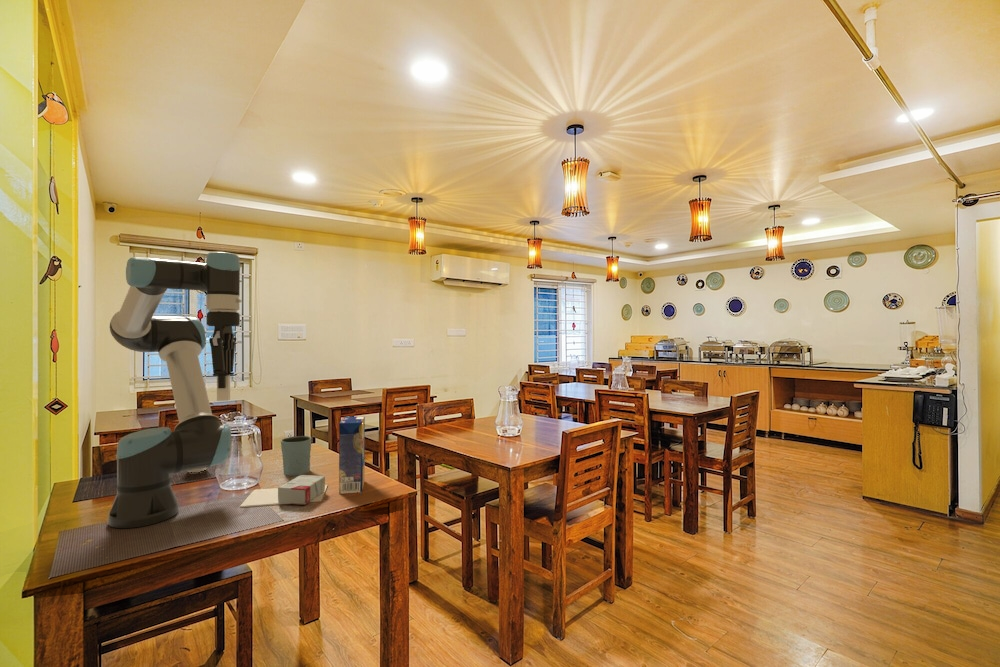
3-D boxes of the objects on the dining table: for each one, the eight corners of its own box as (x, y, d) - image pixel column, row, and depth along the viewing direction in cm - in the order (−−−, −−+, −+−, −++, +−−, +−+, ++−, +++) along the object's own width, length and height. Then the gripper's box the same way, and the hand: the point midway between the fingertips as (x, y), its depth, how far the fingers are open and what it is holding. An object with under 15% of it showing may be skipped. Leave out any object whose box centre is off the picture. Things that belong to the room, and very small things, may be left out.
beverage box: (364, 481, 157) (364, 416, 157) (361, 492, 146) (362, 422, 146) (343, 482, 156) (343, 416, 156) (339, 493, 145) (339, 423, 145)
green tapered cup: (304, 476, 162) (304, 442, 162) (275, 476, 162) (275, 442, 162) (316, 468, 172) (316, 435, 172) (288, 467, 172) (288, 435, 172)
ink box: (305, 505, 134) (325, 491, 146) (305, 488, 134) (325, 475, 146) (277, 503, 136) (300, 490, 147) (277, 487, 135) (300, 474, 147)
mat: (239, 507, 134) (239, 506, 134) (254, 490, 147) (254, 489, 147) (321, 501, 139) (321, 500, 139) (327, 485, 152) (327, 484, 152)
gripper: (230, 310, 118) (230, 403, 118) (246, 312, 130) (246, 396, 131) (197, 310, 116) (197, 404, 116) (216, 312, 129) (216, 397, 129)
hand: (223, 400), depth 123 cm, fingers closed
